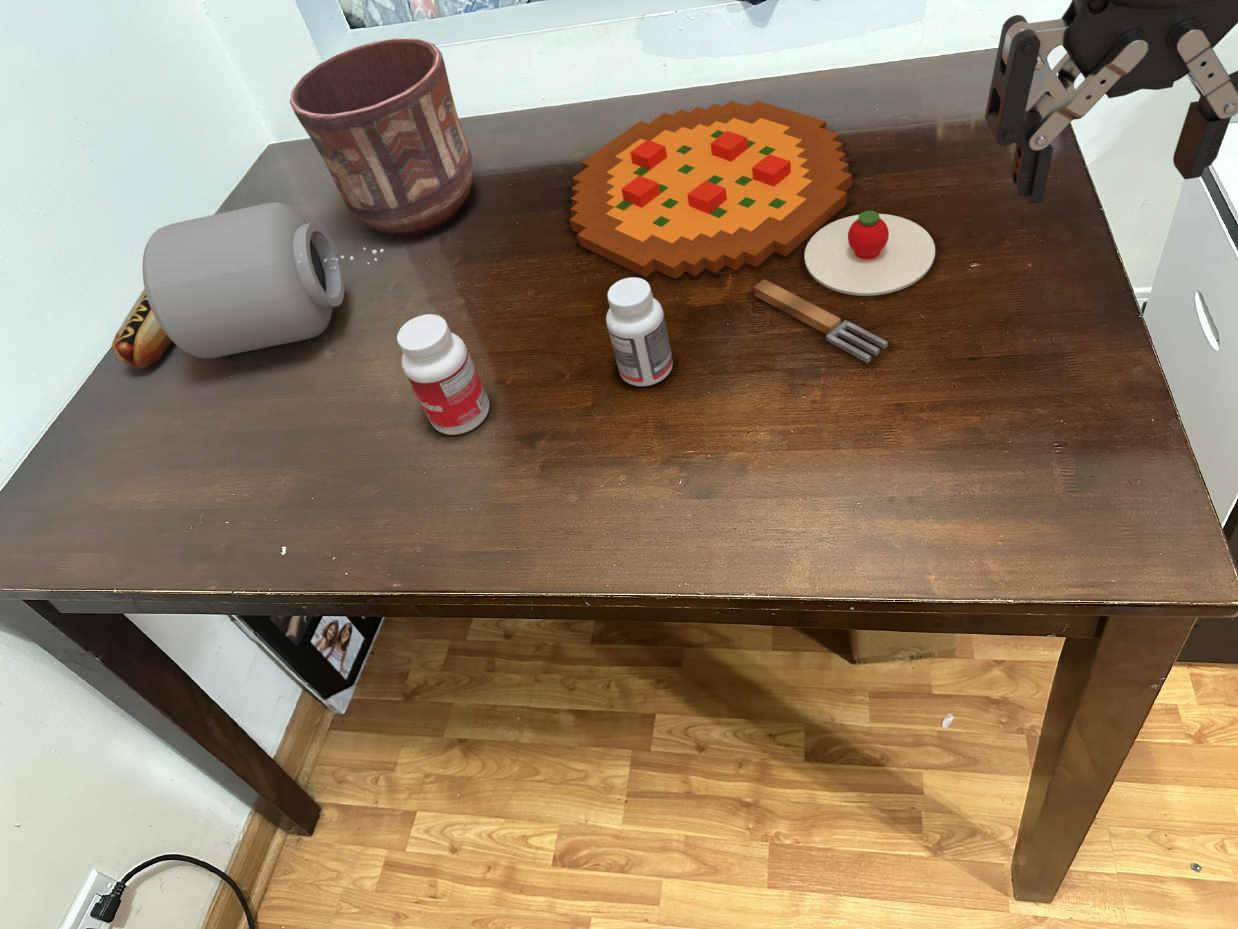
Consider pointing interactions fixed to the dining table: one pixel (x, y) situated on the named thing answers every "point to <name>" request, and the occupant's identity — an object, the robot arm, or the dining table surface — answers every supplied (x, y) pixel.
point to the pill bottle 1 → (442, 375)
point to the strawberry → (868, 235)
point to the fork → (820, 320)
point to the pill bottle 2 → (638, 333)
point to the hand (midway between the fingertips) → (1107, 183)
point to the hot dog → (140, 336)
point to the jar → (242, 280)
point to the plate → (867, 277)
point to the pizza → (710, 189)
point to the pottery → (388, 134)
